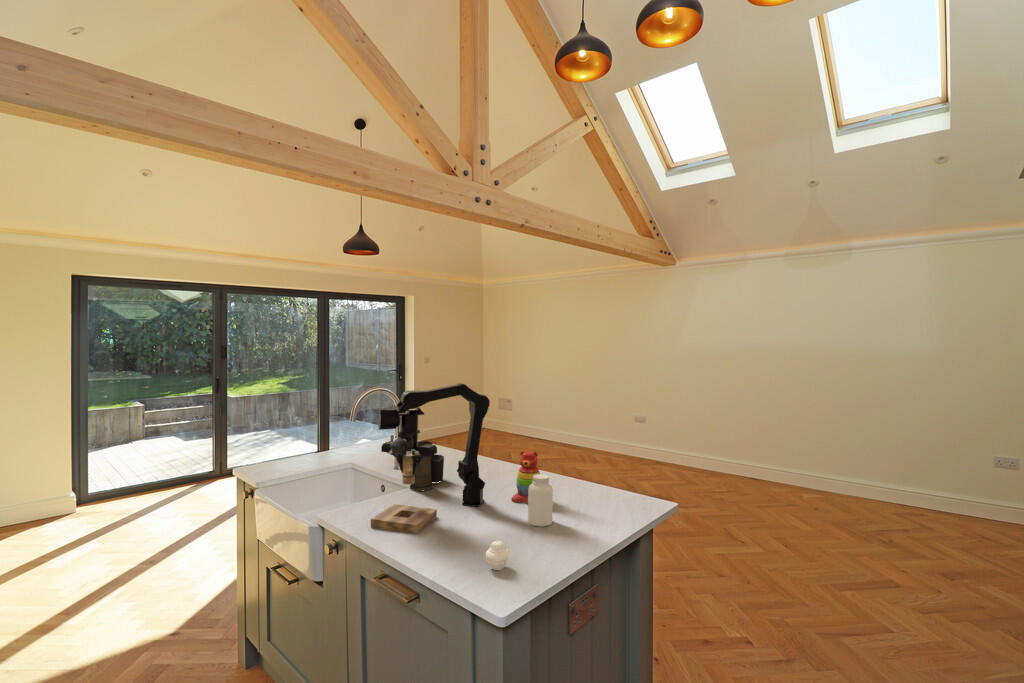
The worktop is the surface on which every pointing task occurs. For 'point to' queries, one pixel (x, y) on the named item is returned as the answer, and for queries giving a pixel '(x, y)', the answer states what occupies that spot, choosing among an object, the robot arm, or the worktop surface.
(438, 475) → the pen holder
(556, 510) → the worktop surface
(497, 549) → the cream rounded piece
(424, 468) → the container
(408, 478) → the peg
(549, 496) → the pill bottle
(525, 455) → the stacking bear
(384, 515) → the board
